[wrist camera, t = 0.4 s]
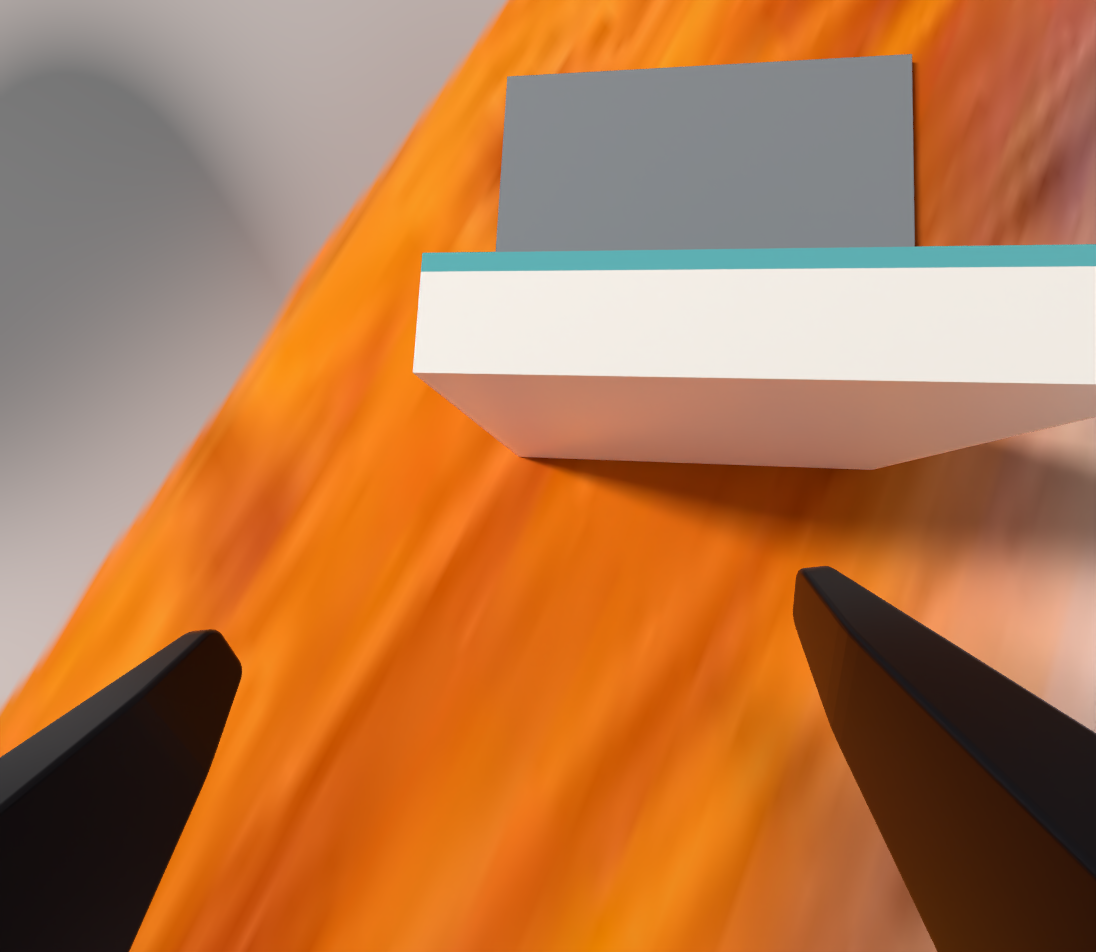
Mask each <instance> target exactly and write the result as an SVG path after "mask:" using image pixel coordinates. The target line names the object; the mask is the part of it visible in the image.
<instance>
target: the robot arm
mask: <svg viewBox="0 0 1096 952" xmlns="http://www.w3.org/2000/svg"><path fill="white" fill-rule="evenodd" d="M793 617H794V623H795V627H796V630H797V633H798V635H799V638H800V641H801V644H802V647H803V650H804V652H805V655H806V658H807V661H808V664H809V667H810V670H811V672H812V675H813V678H814V681H815V684H816V687H817V690H818V692H819V695H820V698H821V701H822V704H823V707H824V710H825V712H826V715H827V718H828V720H829V723H830V726H831V728H832V731H833V733H834V735H835V737H836V740H837V742H838V744H839V746H840V749H841V751H842V753H843V755H844V757H845V759H846V761H847V763H848V765H849V767H850V769H851V772H852V774H853V776H854V778H855V780H856V782H857V784H858V786H859V788H860V790H861V792H862V795H863V797H864V799H865V801H866V803H867V805H868V807H869V809H870V811H871V813H872V815H873V818H874V820H875V822H876V824H877V826H878V828H879V830H880V832H881V834H882V836H883V839H884V841H885V843H886V845H887V847H888V849H889V851H890V853H891V855H892V857H893V859H894V862H895V864H896V866H897V868H898V870H899V872H900V874H901V876H902V878H903V880H904V882H905V885H906V887H907V889H908V891H909V893H910V895H911V897H912V899H913V901H914V903H915V905H916V908H917V910H918V912H919V914H920V916H921V918H922V920H923V922H924V924H925V926H926V929H927V931H928V933H929V935H930V937H931V939H932V941H933V943H934V945H935V947H936V949H937V952H1096V733H1095V732H1093V731H1092V730H1090V729H1088V728H1087V727H1085V726H1084V725H1082V724H1080V723H1079V722H1077V721H1076V720H1074V719H1072V718H1071V717H1069V716H1068V715H1066V714H1064V713H1063V712H1061V711H1060V710H1058V709H1057V708H1055V707H1053V706H1052V705H1050V704H1049V703H1047V702H1045V701H1044V700H1042V699H1041V698H1039V697H1037V696H1036V695H1034V694H1033V693H1031V692H1029V691H1028V690H1026V689H1025V688H1023V687H1021V686H1020V685H1018V684H1017V683H1015V682H1014V681H1012V680H1010V679H1009V678H1007V677H1006V676H1004V675H1002V674H1001V673H999V672H998V671H996V670H994V669H993V668H991V667H990V666H988V665H986V664H985V663H983V662H982V661H980V660H978V659H977V658H975V657H974V656H972V655H971V654H969V653H967V652H966V651H964V650H963V649H961V648H959V647H958V646H956V645H955V644H953V643H951V642H950V641H948V640H947V639H945V638H943V637H942V636H940V635H939V634H937V633H935V632H934V631H932V630H931V629H929V628H928V627H926V626H924V625H923V624H921V623H920V622H918V621H916V620H915V619H913V618H912V617H910V616H908V615H907V614H905V613H904V612H902V611H900V610H899V609H897V608H896V607H894V606H892V605H891V604H889V603H888V602H886V601H885V600H883V599H881V598H880V597H878V596H877V595H875V594H873V593H872V592H870V591H869V590H867V589H865V588H864V587H862V586H861V585H859V584H857V583H856V582H854V581H853V580H851V579H849V578H848V577H846V576H845V575H843V574H842V573H840V572H838V571H837V570H835V569H833V568H831V567H828V566H820V567H811V568H803V569H801V570H799V571H798V573H797V575H796V583H795V594H794V605H793ZM241 676H242V666H241V663H240V661H239V659H238V658H237V656H236V655H235V653H234V652H233V650H232V649H231V647H230V646H229V644H228V643H227V641H226V640H225V638H224V637H223V635H222V634H221V633H220V632H218V631H216V630H212V629H209V630H200V631H192V632H189V633H186V634H185V635H183V636H181V637H180V638H178V639H177V640H175V641H174V642H172V643H171V644H169V645H168V646H166V647H165V648H163V649H162V650H160V651H159V652H157V653H156V654H155V655H153V656H152V657H150V658H149V659H147V660H146V661H144V662H143V663H141V664H140V665H138V666H137V667H135V668H134V669H132V670H131V671H129V672H128V673H126V674H125V675H123V676H122V677H120V678H119V679H117V680H116V681H114V682H113V683H111V684H110V685H108V686H107V687H105V688H104V689H102V690H101V691H99V692H98V693H96V694H95V695H93V696H92V697H90V698H89V699H87V700H86V701H84V702H83V703H81V704H80V705H78V706H77V707H75V708H74V709H72V710H71V711H69V712H68V713H66V714H65V715H63V716H62V717H60V718H59V719H57V720H56V721H54V722H53V723H51V724H50V725H48V726H47V727H45V728H44V729H42V730H41V731H39V732H38V733H36V734H35V735H33V736H32V737H30V738H29V739H27V740H26V741H24V742H23V743H21V744H20V745H18V746H17V747H15V748H14V749H12V750H11V751H9V752H8V753H6V754H5V755H3V756H2V757H0V952H129V951H130V949H131V946H132V944H133V942H134V940H135V937H136V935H137V933H138V931H139V928H140V926H141V924H142V922H143V919H144V917H145V915H146V913H147V910H148V908H149V906H150V904H151V901H152V899H153V897H154V895H155V892H156V890H157V888H158V886H159V883H160V881H161V879H162V877H163V874H164V872H165V870H166V868H167V865H168V863H169V861H170V859H171V856H172V854H173V852H174V850H175V847H176V845H177V843H178V841H179V838H180V836H181V834H182V832H183V829H184V827H185V825H186V823H187V820H188V818H189V816H190V814H191V811H192V809H193V807H194V805H195V802H196V800H197V798H198V796H199V793H200V791H201V789H202V787H203V784H204V782H205V779H206V777H207V775H208V772H209V769H210V767H211V764H212V761H213V759H214V756H215V753H216V750H217V747H218V744H219V741H220V738H221V735H222V732H223V730H224V727H225V724H226V721H227V718H228V715H229V712H230V709H231V706H232V703H233V700H234V698H235V695H236V692H237V689H238V686H239V683H240V680H241Z"/></svg>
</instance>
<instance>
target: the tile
mask: <svg viewBox="0 0 1096 952" xmlns="http://www.w3.org/2000/svg"><path fill="white" fill-rule="evenodd" d="M413 373H414V374H415V375H417V376H418V377H419V378H420V379H422V380H423V381H424V382H425V383H427V384H428V385H429V386H430V387H432V388H433V389H434V390H435V391H437V392H438V393H439V394H440V395H442V396H443V397H444V398H445V399H447V400H448V401H449V402H450V403H452V404H453V405H454V406H456V407H457V408H458V409H459V410H461V411H462V412H463V413H464V414H466V415H467V416H468V417H469V418H471V419H472V420H473V421H474V422H476V423H477V424H478V425H479V426H481V427H482V428H483V429H484V430H486V431H487V432H488V433H490V434H491V435H492V436H493V437H495V438H496V439H497V440H498V441H500V442H501V443H502V444H503V445H505V446H506V447H507V448H508V449H510V450H511V451H512V452H513V453H515V454H516V455H517V456H518V457H539V458H566V459H593V460H619V461H646V462H673V463H700V464H727V465H753V466H780V467H807V468H834V469H861V470H873V469H878V468H882V467H886V466H890V465H895V464H899V463H903V462H907V461H911V460H916V459H920V458H924V457H928V456H933V455H937V454H941V453H945V452H950V451H954V450H958V449H962V448H967V447H971V446H975V445H979V444H984V443H988V442H992V441H996V440H1001V439H1005V438H1009V437H1013V436H1018V435H1022V434H1026V433H1030V432H1034V431H1039V430H1043V429H1047V428H1051V427H1056V426H1060V425H1064V424H1068V423H1073V422H1077V421H1081V420H1085V419H1090V418H1094V417H1096V244H1085V245H1006V246H928V247H849V248H771V249H692V250H613V251H535V252H456V253H423V254H422V266H421V279H420V291H419V303H418V316H417V328H416V340H415V353H414V365H413Z"/></svg>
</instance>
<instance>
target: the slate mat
mask: <svg viewBox="0 0 1096 952" xmlns="http://www.w3.org/2000/svg"><path fill="white" fill-rule="evenodd" d="M849 247H915V228H914V163H913V97H912V54H907V55H889V56H871V57H853V58H835V59H817V60H799V61H781V62H763V63H745V64H727V65H709V66H691V67H673V68H655V69H637V70H619V71H601V72H583V73H565V74H547V75H529V76H511V77H507V92H506V107H505V122H504V137H503V152H502V167H501V182H500V197H499V212H498V226H497V241H496V252H535V251H613V250H692V249H771V248H849Z"/></svg>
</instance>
